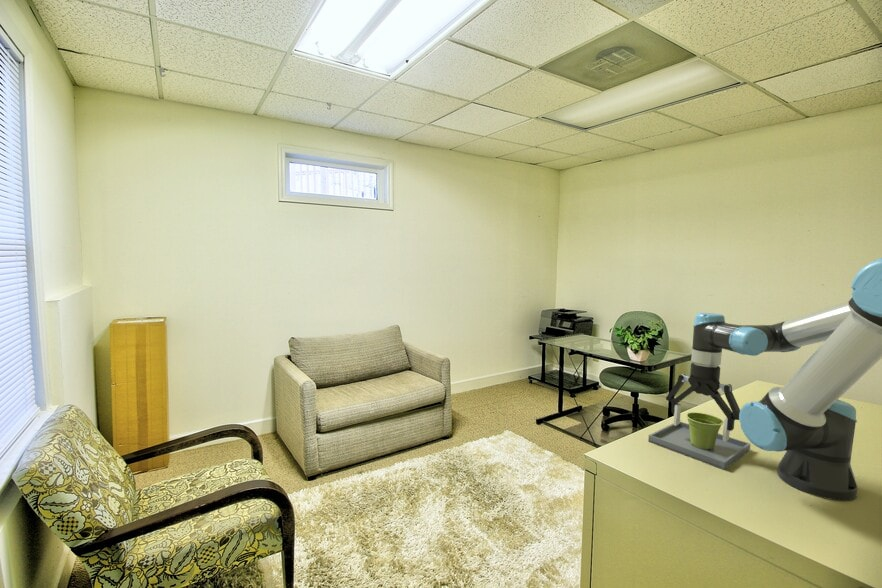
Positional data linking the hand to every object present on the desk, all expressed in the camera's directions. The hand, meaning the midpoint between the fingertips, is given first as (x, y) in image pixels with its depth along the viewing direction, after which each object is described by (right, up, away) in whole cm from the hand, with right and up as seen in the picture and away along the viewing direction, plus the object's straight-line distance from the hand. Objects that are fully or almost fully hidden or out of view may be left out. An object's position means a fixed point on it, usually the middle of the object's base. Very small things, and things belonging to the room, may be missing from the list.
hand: (700, 431), depth 125 cm
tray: (0, -5, +1) cm, 5 cm away
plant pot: (0, -4, 0) cm, 4 cm away
